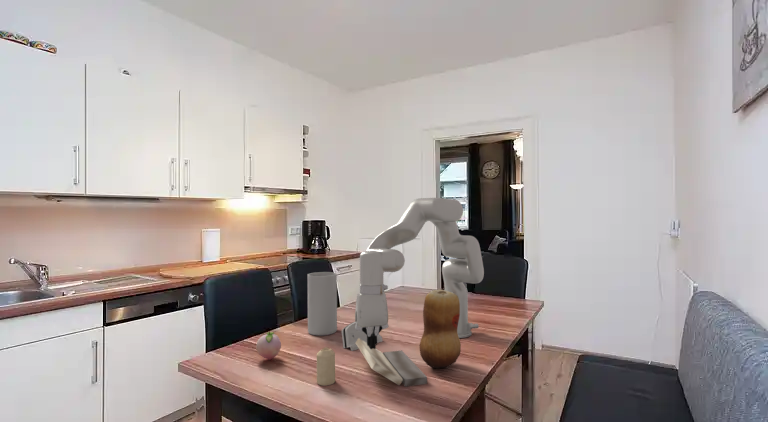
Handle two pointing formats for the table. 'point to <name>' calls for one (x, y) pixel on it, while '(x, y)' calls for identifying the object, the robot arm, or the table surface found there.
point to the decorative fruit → (268, 345)
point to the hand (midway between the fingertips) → (371, 347)
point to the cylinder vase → (322, 303)
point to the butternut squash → (440, 329)
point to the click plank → (379, 362)
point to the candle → (325, 367)
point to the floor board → (406, 368)
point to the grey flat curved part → (355, 336)
